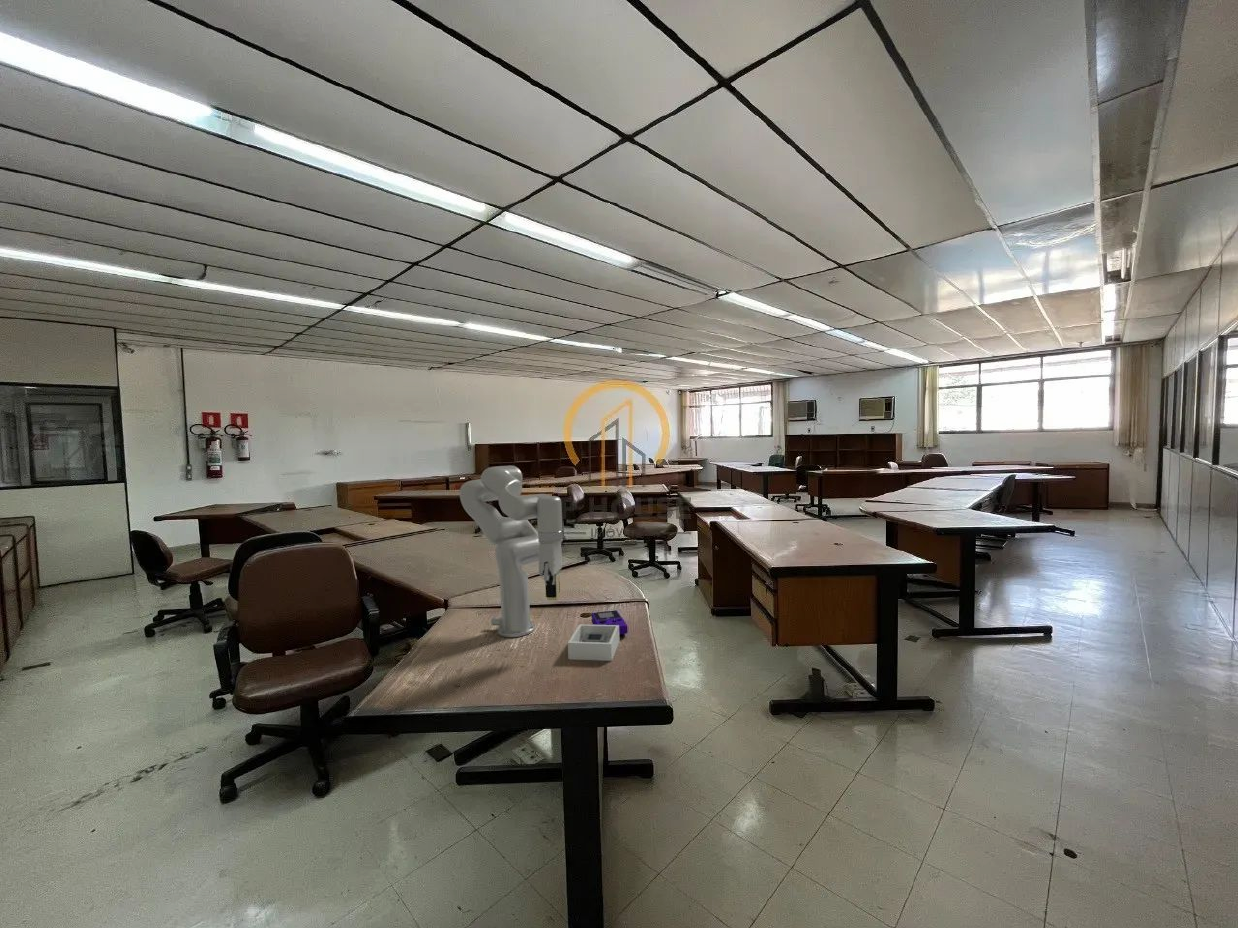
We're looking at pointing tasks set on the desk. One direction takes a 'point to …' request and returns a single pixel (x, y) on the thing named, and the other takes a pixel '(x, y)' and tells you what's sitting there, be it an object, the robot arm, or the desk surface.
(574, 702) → the desk surface
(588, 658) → the box
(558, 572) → the peg
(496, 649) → the desk surface
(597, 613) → the handheld gaming console
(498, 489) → the robot arm
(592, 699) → the desk surface
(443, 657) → the desk surface
